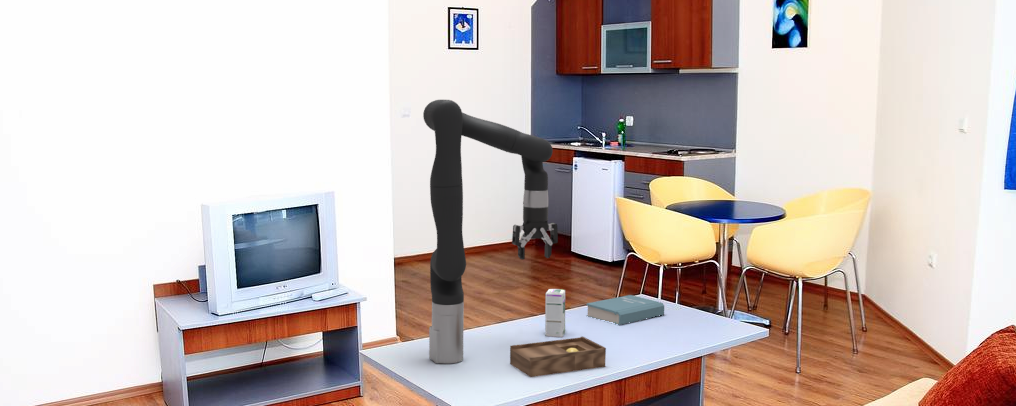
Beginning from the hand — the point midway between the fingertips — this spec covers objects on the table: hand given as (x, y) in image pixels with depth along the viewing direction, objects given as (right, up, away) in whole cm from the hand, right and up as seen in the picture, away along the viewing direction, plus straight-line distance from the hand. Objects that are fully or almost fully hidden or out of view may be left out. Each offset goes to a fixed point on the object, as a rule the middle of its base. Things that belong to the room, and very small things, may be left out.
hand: (534, 258), depth 269 cm
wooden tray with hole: (+6, -30, -13) cm, 33 cm away
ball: (+11, -28, -11) cm, 31 cm away
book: (+33, -24, +46) cm, 62 cm away
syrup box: (+7, -26, +20) cm, 34 cm away
